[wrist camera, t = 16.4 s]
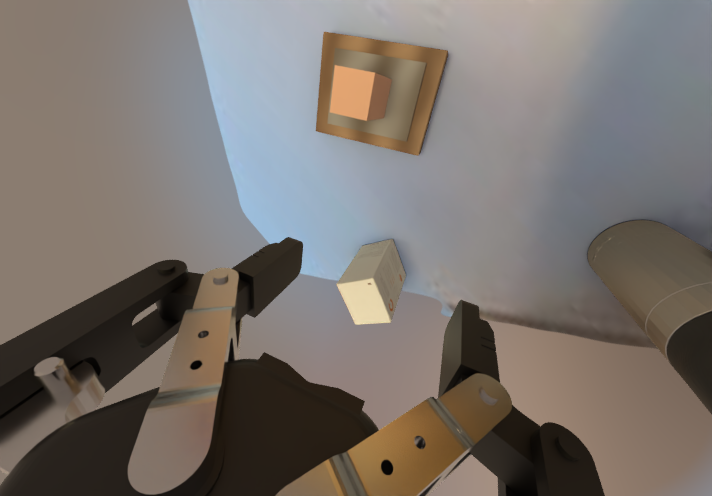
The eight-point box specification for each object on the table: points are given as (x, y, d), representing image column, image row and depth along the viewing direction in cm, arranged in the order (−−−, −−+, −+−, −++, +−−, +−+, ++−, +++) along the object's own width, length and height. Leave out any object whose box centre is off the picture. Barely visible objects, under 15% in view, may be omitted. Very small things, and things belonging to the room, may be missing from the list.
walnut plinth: (448, 54, 33) (447, 49, 30) (420, 153, 39) (417, 156, 36) (331, 36, 36) (322, 30, 33) (322, 129, 42) (314, 131, 40)
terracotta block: (391, 79, 33) (375, 72, 27) (383, 118, 36) (366, 120, 29) (358, 73, 34) (334, 65, 27) (353, 111, 36) (329, 112, 30)
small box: (362, 245, 50) (334, 283, 39) (393, 237, 47) (373, 277, 36) (376, 280, 52) (354, 325, 41) (406, 275, 49) (392, 323, 38)
